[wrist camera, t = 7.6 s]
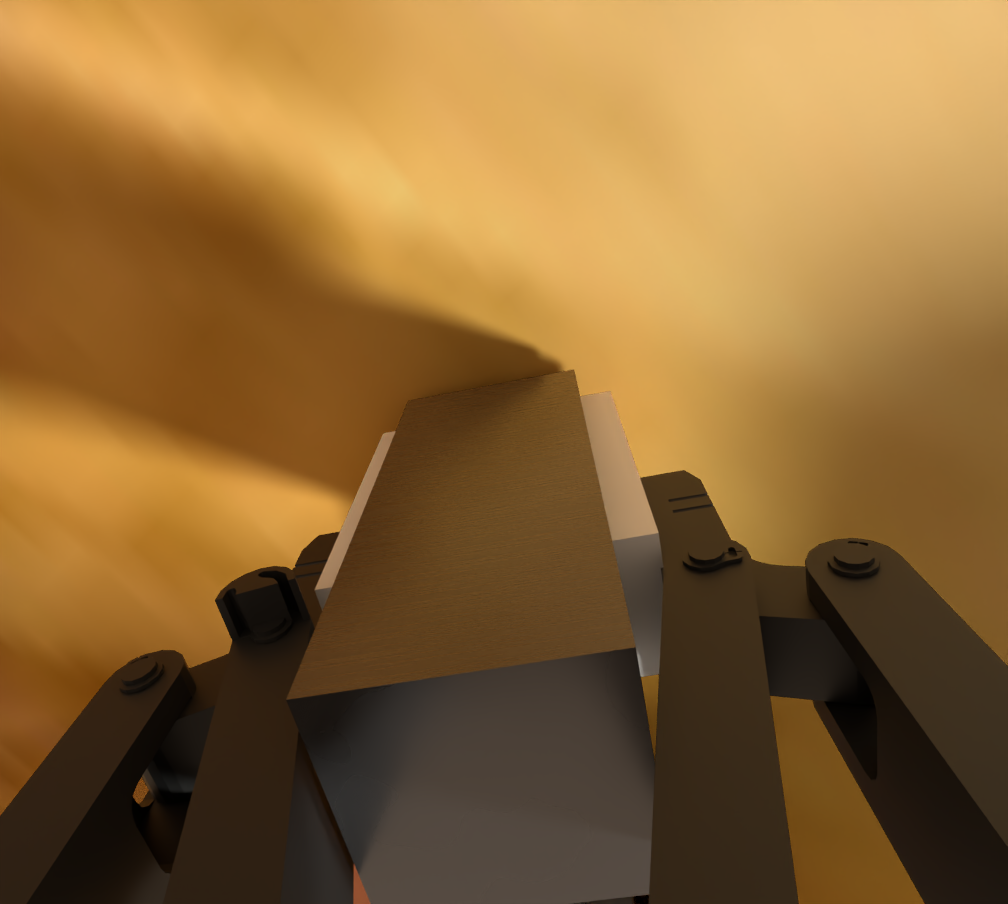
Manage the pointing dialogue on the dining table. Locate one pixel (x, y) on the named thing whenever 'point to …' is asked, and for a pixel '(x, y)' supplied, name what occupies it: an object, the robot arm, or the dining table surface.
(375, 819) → the grey block with rod
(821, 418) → the dining table surface
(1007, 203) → the dining table surface
